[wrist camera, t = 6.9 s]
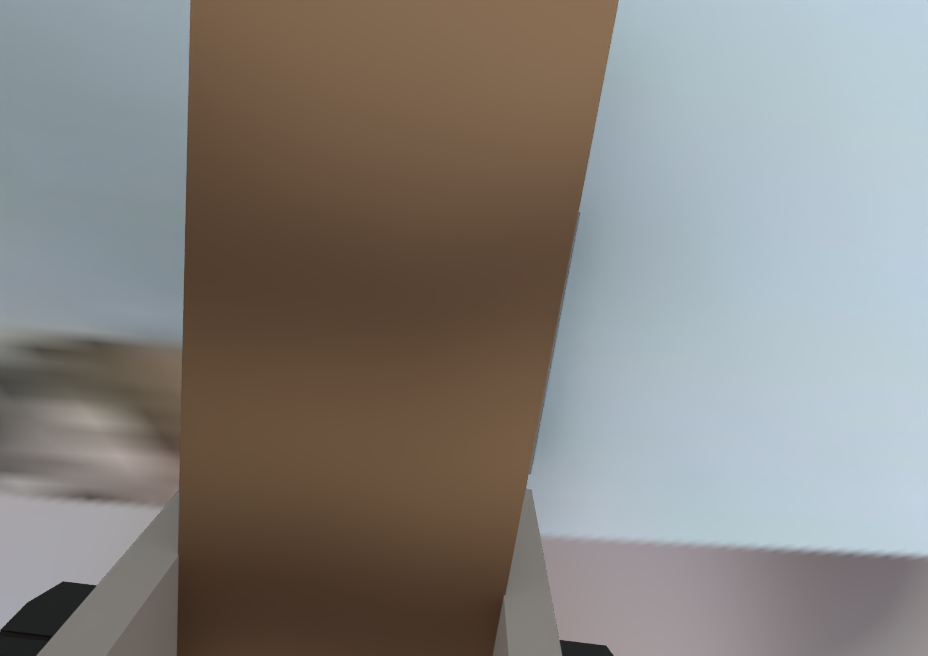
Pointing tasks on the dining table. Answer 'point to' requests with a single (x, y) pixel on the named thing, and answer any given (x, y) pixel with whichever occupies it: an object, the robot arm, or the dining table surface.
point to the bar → (371, 311)
